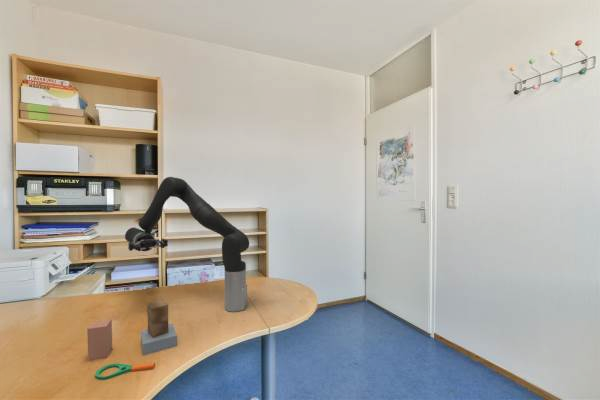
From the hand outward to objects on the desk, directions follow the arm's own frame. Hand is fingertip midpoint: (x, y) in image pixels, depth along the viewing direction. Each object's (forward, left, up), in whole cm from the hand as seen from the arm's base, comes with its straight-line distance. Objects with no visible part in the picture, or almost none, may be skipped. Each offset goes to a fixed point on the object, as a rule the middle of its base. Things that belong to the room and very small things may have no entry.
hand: (151, 247), depth 111 cm
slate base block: (-12, +17, -30) cm, 36 cm away
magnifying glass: (-10, +32, -30) cm, 45 cm away
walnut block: (-11, +17, -26) cm, 33 cm away
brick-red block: (+3, +24, -29) cm, 38 cm away
